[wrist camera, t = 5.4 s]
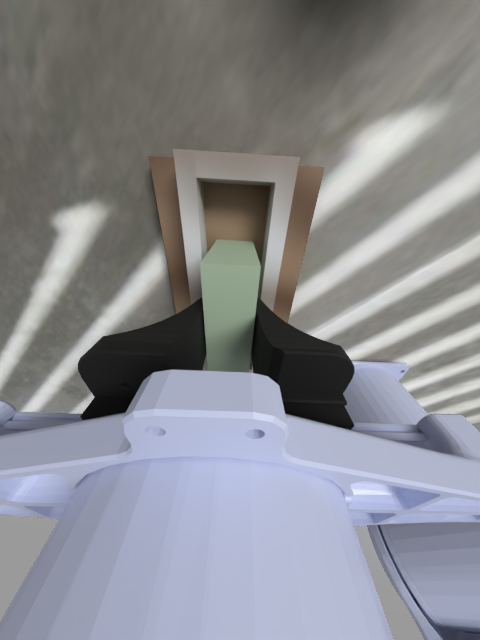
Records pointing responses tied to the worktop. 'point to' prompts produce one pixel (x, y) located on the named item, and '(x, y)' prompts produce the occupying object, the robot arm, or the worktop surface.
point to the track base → (235, 217)
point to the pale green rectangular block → (230, 303)
